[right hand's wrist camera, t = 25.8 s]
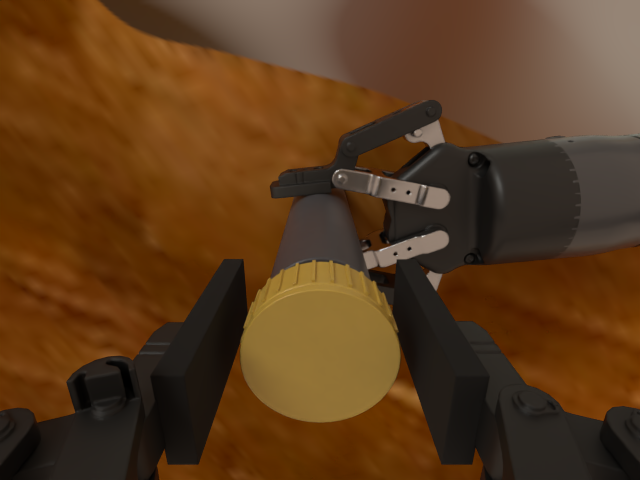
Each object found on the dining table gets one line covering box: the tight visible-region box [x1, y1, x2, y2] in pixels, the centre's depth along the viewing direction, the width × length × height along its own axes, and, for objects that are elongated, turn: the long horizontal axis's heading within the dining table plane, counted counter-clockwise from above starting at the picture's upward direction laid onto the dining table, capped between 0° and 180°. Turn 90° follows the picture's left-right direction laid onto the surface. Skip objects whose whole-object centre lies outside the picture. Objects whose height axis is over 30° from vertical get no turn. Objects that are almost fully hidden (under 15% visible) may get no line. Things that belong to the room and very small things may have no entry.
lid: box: [240, 260, 401, 422], centre depth 11 cm, size 5×5×2 cm
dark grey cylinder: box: [271, 188, 371, 280], centre depth 20 cm, size 4×4×19 cm
